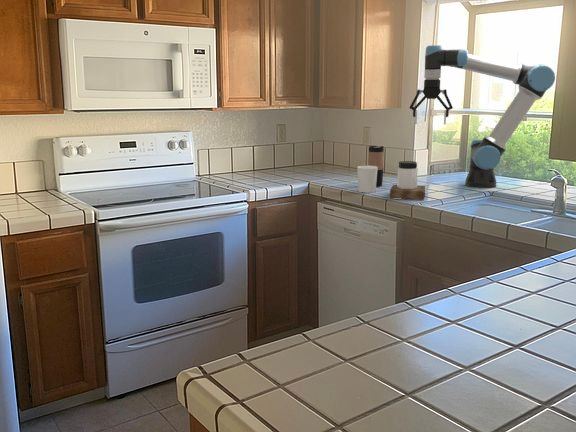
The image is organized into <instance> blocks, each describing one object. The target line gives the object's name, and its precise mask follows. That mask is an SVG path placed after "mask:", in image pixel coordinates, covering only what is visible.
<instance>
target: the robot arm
mask: <svg viewBox="0 0 576 432" xmlns="http://www.w3.org/2000/svg"><path fill="white" fill-rule="evenodd" d="M424 54H425V55H424V81H423V89H419V88H418V89H417V90H416V95H415V96H414V98H413V100H412V101H411V104H410V106H409V109H410V110H412V117H413V118H414V124H415V125H417V124H418V110H417V109H418V108H419V107H420V105H422V103H423V102H424V101H425V100H426V99H428V100H430V99H432V100H435V99H437V100H438V102H439V103H440V104H441V105H442V106H443V107H444V109H445V110H444V115H443V117H444V119H443V125H446V124H447V123H446V122H447V118H449V111H450V110H452V109H453V108H454V107H453V105H452V103H451V101H450V99H449V96H448V94H447V93H448V92H447V91H448V90H447V89H445V88H444V89H441V79H442V77H441V74H442V73H441V72H442V67H451V68H456V69H460V70H465V71H469V72H473V73H477V74H482V75H486V76H490V77H494V78H498V79H503V80H507V81H509V82H510V81H511V82H512V83H513V85H514V84H515V85H517V86H518V92H517V94H515V97H514V98H513V100H512V101H511V103H509V105H508V107H507V108H506V109H505V111H504V113H503V114H502V116H501V117H500V119H499V120H498V121H497V124H496V125H495V127H494V128H493V129H492V131H491V132H490V134H489V135H485V136H484V137H483V138H482V139H474V140H472V141H471V143H470V157H469V159H470V160H469V170H468V173H467V176H466V177H465V181H464V185H465V186H467V187H471V188H480V189H481V188H485V189H486V188H495V187H497V177H496V175H495V168H496V167H497V166H498V165H499V164H500V161H501V158H502V156H503V155H504V153H505V151H506V150H507V148H506V144H507V143H508V141H509V140H510V139H511V137H512V135H513V134H514V133H515V131H516V129H517V128H518V127H519V125H520V124H521V123H522V121H523V119H524V118H525V117H526V115H527V114H528V112H529V111H530V109H531V108H532V106H533V105H534V103H536V101H537V100H541V99H542V98H543V96H544V95H545V94H546V91H548V90H549V89H550V88H551V87H552V86H553V85H554V83H555V81H556V74H555V71H554V69H553V68H552V67H550V66H549V65H547V64H540V63H539V64H536V65H535V64H531V65H530V64H529V65H528V64H524V63H520V64H518V65H517V64H512V63H509V62H505V61H500V60H497V59H491V58H488V57H482V56H479V55H474V54H470V53H469V51H468V49H463V48H459V49H443V45H441V44H440V45H435V44H434V45H427V46H426V48H425V53H424ZM441 93H442V95H443V96H444V97H445V100H446V102H447V104H448V106H449V107H448V106H447V104H446V103H445V102H444V101H443V99H442V98H441V97H440V94H441ZM421 94H423V95H424V96H423V97H422V98H421V99H420V100H419V102H418V103H416V102H417V99H418V98H419V96H420V95H421ZM415 104H416V105H415Z"/></svg>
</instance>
